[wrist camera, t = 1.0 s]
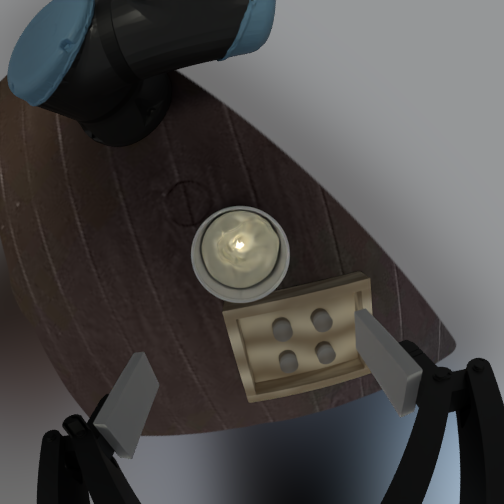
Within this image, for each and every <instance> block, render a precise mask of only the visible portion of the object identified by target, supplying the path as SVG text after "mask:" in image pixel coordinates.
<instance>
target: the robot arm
mask: <svg viewBox="0 0 504 504" xmlns="http://www.w3.org/2000/svg"><path fill="white" fill-rule="evenodd" d="M275 4H276V0H53V1H51V2H50V3H49V4H48V5H46V6H45V7H44V8H43V9H42V10H41V11H40V12H39V13H38V14H37V15H36V16H35V17H34V18H33V19H32V21H31V22H30V23H29V25H28V26H27V27H26V28H25V30H24V31H23V33H22V35H21V36H20V38H19V40H18V42H17V43H16V46H15V48H14V50H13V52H12V55H11V58H10V62H9V67H8V84H9V88H10V90H11V91H12V93H13V94H14V95H15V96H17V97H19V98H21V99H23V100H25V101H27V102H28V103H29V104H30V105H32V106H38V107H41V108H44V109H46V110H49V111H52V112H55V113H58V114H60V115H63V116H66V117H69V118H71V119H74V120H77V121H78V123H79V124H80V125H81V127H82V128H83V130H84V131H85V133H86V134H87V135H88V136H89V137H90V138H91V139H93V140H94V141H96V142H98V143H101V144H104V145H107V146H112V147H121V146H126V145H130V144H133V143H135V142H137V141H139V140H141V139H143V138H144V137H146V136H147V135H148V134H149V133H151V132H152V131H153V130H154V129H155V128H156V127H157V126H158V124H159V123H160V122H161V120H162V119H163V117H164V116H165V114H166V112H167V110H168V107H169V105H170V101H171V95H172V86H171V81H170V78H169V76H168V74H167V73H166V72H170V71H173V70H177V69H180V68H184V67H188V66H192V65H196V64H200V63H204V62H209V61H213V60H217V61H222V60H225V59H227V58H228V57H232V56H237V55H242V54H247V53H252V52H254V51H256V50H258V49H259V48H260V47H261V46H262V45H263V44H265V42H266V41H267V39H268V37H269V35H270V32H271V29H272V25H273V20H274V14H275ZM354 318H355V337H356V350H357V351H358V353H359V354H360V356H361V357H362V359H363V360H364V362H365V363H366V365H367V366H368V368H369V369H370V371H371V372H372V374H373V375H374V377H375V378H376V380H377V382H378V383H379V385H380V386H381V388H382V389H383V391H384V392H385V394H386V395H387V397H388V399H389V400H390V402H391V403H392V405H393V406H394V408H395V410H396V411H397V413H398V415H399V416H400V417H403V416H405V415H407V414H410V413H412V412H414V410H415V405H416V404H417V406H418V407H419V410H418V413H417V417H416V420H415V423H414V426H413V429H412V432H411V435H410V438H409V441H408V443H407V446H406V449H405V451H404V454H403V456H402V459H401V461H400V464H399V466H398V468H397V471H396V473H395V475H394V478H393V480H392V482H391V484H390V486H389V488H388V490H387V492H386V494H385V496H384V498H383V500H382V502H381V504H422V502H423V499H424V497H425V494H426V492H427V489H428V486H429V483H430V481H431V478H432V474H433V472H434V469H435V465H436V462H437V459H438V455H439V452H440V448H441V444H442V440H443V436H444V432H445V427H446V422H447V417H448V413H449V412H454V411H456V416H457V425H458V434H459V448H460V477H461V478H460V504H504V404H503V401H502V397H501V394H500V391H499V388H498V385H497V382H496V379H495V376H494V373H493V370H492V368H491V365H490V363H489V362H488V361H487V360H485V359H482V358H475V359H472V360H471V361H469V362H468V364H467V367H466V369H464V370H459V371H454V372H452V371H451V370H450V369H448V368H446V367H437V366H436V365H435V364H434V363H433V362H432V361H431V360H430V359H429V358H428V357H427V356H426V354H425V353H423V351H422V350H421V349H419V347H418V346H417V345H416V344H415V343H413V342H410V341H408V340H404V341H402V342H399V343H398V342H397V341H396V340H395V339H394V338H393V337H392V336H391V335H390V334H389V332H388V331H387V330H386V329H385V328H384V327H383V326H382V325H381V324H380V323H379V322H378V321H377V320H376V319H375V318H374V317H373V316H372V315H371V314H370V313H369V312H368V310H367V309H366V308H365V309H362V310H358V311H355V312H354ZM158 387H159V383H158V381H157V379H156V377H155V375H154V372H153V370H152V368H151V366H150V364H149V362H148V359H147V357H146V355H145V353H144V352H139V353H134V354H133V356H132V357H131V359H130V360H129V362H128V364H127V365H126V367H125V369H124V370H123V372H122V374H121V375H120V377H119V379H118V381H117V382H116V384H115V386H114V387H113V389H112V391H111V392H110V394H106V395H105V396H104V397H103V398H102V399H101V400H100V402H99V403H98V405H97V407H96V408H95V411H94V412H93V413H92V415H91V417H90V419H89V420H88V422H87V423H86V422H85V421H84V419H83V418H82V416H81V415H78V414H74V415H71V416H69V417H67V418H66V419H65V420H64V422H63V424H62V426H63V428H64V429H65V431H66V432H67V433H68V436H62V435H61V434H60V433H59V431H57V430H50V431H48V432H47V433H45V435H44V436H43V439H42V445H41V452H40V460H39V470H38V483H37V504H90V500H89V493H90V495H91V498H92V500H93V502H94V504H141V503H140V501H139V500H138V498H137V497H136V495H135V493H134V492H133V490H132V488H131V487H130V485H129V483H128V482H127V480H126V478H125V476H124V474H123V473H122V471H121V469H120V467H119V465H118V463H117V461H116V460H115V458H114V457H113V454H114V451H115V452H116V453H117V454H118V456H119V457H120V458H128V459H132V458H133V455H134V452H135V449H136V446H137V444H138V441H139V438H140V435H141V433H142V430H143V427H144V424H145V422H146V419H147V416H148V414H149V411H150V408H151V406H152V403H153V400H154V398H155V395H156V393H157V390H158Z"/></svg>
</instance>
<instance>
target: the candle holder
mask: <svg viewBox="0 0 504 504" xmlns="http://www.w3.org/2000/svg"><path fill="white" fill-rule="evenodd" d="M191 261H192V266H193V269H194V272H195V274H196V276H197V278H198V280H199V281H200V283H201V284H202V285H203V287H204V288H205V289H206V290H208V291H209V292H210V293H211V294H213V295H214V296H216V297H218V298H220V299H222V300H225V301H229V302H234V303H248V302H253V301H256V300H259V299H261V298H263V297H265V296H267V295H269V294H270V293H271V292H273V291H274V290H275V289H276V288H277V287H278V286H279V284H280V283H281V282H282V280H283V278H284V277H285V275H286V272H287V270H288V266H289V261H290V248H289V243H288V240H287V237H286V235H285V232H284V231H283V229H282V227H281V226H280V225H279V224H278V222H277V221H276V220H275V219H274V218H272V217H271V216H270V215H268V214H267V213H265V212H263V211H261V210H259V209H256V208H253V207H248V206H233V207H228V208H224V209H222V210H219V211H217V212H215V213H214V214H212V215H211V216H210V217H208V218H207V219H206V220H205V221H204V222H203V223H202V225H201V226H200V227H199V229H198V230H197V232H196V234H195V237H194V239H193V243H192V248H191Z"/></svg>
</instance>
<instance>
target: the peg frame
mask: <svg viewBox="0 0 504 504" xmlns="http://www.w3.org/2000/svg"><path fill="white" fill-rule="evenodd" d="M365 308H366V309H367V310H368V312H369V313H370V314H371V315H372V300H371V285H370V278H369V277H368V276H366V275H365V274H363V273H362V272H360V271H357V272H354V273H350V274H345V275H341V276H337V277H333V278H329V279H325V280H321V281H316V282H312V283H308V284H303V285H299V286H295V287H290V288H286V289H281V290H276V291H273V292H271V293H270V294H269V295H267V296H265V297H263V298H261V299H259V300H256V301H253V302H248V303H234V302H229V301H224V306H223V311H222V312H223V316H224V320H225V323H226V327H227V331H228V334H229V338H230V341H231V345H232V348H233V352H234V355H235V359H236V362H237V365H238V369H239V372H240V375H241V379H242V382H243V385H244V388H245V392H246V395H247V398H248V401H249V403H251V402H257V401H263V400H269V399H274V398H279V397H284V396H289V395H294V394H298V393H302V392H307V391H311V390H315V389H319V388H323V387H326V386H330V385H334V384H337V383H341V382H344V381H347V380H351V379H354V378H357V377H360V376H363V375H366V374H369V373H372V372H371V371H370V369H369V368H368V366H367V365H366V363H365V362H364V360H363V359H362V357H361V356H360V354H359V353H358V351H357V350H356V337H355V318H354V312H355V311H358V310H362V309H365Z"/></svg>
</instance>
